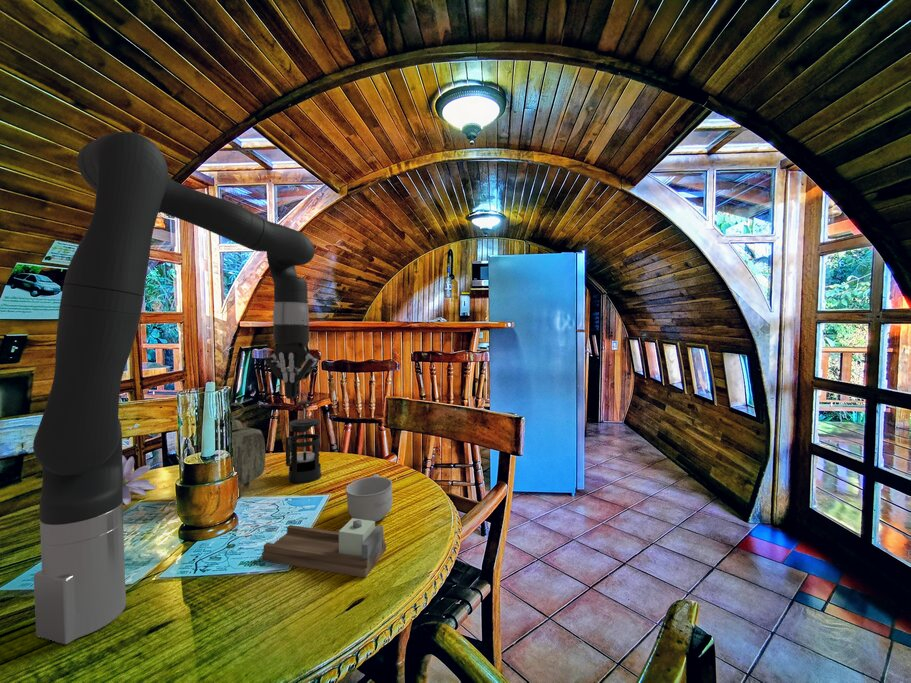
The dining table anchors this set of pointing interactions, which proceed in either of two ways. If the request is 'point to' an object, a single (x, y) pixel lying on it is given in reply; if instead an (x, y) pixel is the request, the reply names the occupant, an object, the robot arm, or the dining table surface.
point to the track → (324, 551)
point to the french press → (305, 463)
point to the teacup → (369, 498)
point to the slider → (354, 536)
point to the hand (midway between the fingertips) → (292, 398)
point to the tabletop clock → (247, 451)
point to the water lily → (134, 484)
